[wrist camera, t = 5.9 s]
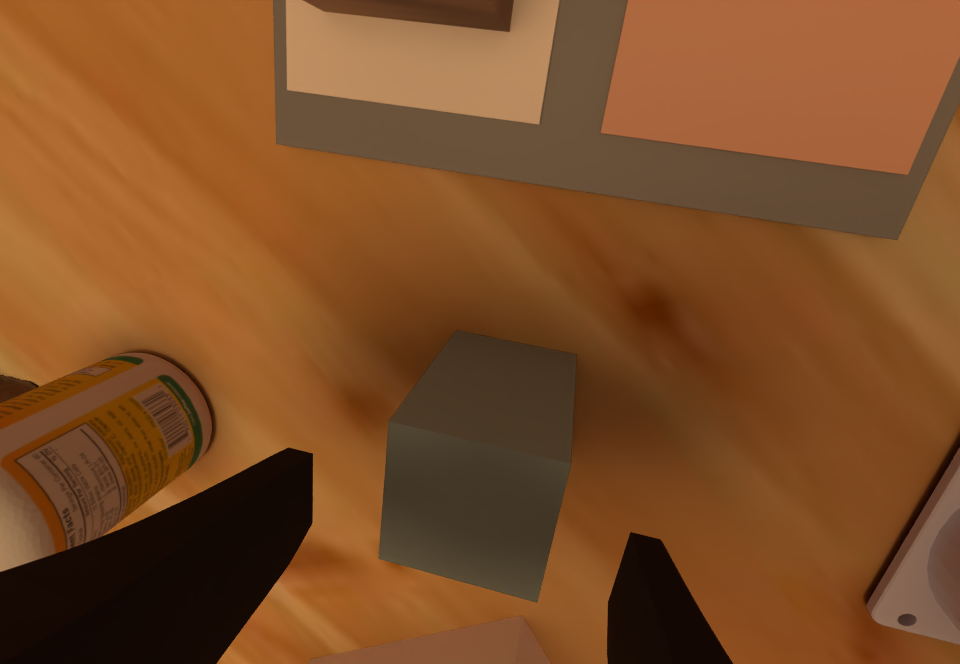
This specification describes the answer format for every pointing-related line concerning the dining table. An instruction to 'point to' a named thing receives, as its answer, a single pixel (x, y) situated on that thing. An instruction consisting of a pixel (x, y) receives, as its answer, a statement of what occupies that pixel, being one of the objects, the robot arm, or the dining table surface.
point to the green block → (480, 464)
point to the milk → (454, 647)
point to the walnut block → (429, 11)
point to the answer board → (644, 100)
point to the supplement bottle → (93, 451)
